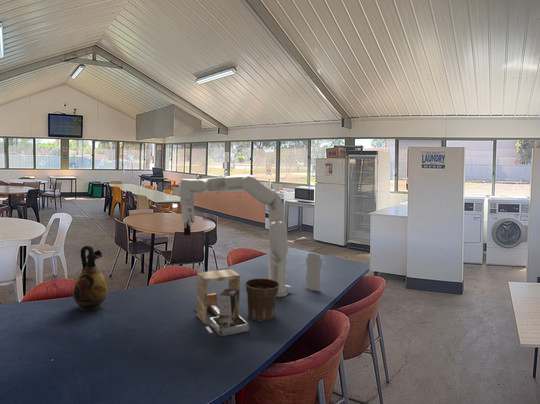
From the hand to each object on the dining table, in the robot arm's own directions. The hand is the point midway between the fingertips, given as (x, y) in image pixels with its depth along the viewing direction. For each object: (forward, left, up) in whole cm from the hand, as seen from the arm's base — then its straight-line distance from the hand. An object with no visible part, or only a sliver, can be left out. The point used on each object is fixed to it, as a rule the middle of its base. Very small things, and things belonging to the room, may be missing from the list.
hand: (187, 235), depth 208 cm
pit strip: (-4, +29, -32) cm, 43 cm away
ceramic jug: (+49, +3, -32) cm, 59 cm away
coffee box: (-4, +53, -32) cm, 62 cm away
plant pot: (-23, +47, -32) cm, 62 cm away
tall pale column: (-68, +24, -32) cm, 79 cm away
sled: (-4, +43, -32) cm, 54 cm away
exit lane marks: (-4, +52, -32) cm, 61 cm away
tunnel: (-4, +40, -32) cm, 51 cm away
